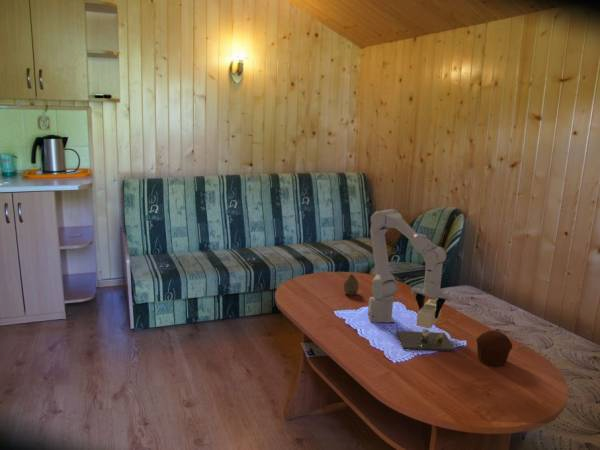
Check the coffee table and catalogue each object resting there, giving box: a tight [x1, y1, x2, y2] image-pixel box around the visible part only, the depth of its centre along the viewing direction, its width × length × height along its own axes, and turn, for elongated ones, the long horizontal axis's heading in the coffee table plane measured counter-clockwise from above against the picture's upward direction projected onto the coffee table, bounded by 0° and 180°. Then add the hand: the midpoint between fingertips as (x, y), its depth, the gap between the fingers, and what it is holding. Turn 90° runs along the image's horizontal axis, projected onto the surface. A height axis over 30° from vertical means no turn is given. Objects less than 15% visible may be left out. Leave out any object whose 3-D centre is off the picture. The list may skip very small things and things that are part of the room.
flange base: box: [396, 328, 456, 353], centre depth 180 cm, size 18×13×4 cm
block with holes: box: [416, 298, 442, 330], centre depth 183 cm, size 15×5×5 cm, turn 151°
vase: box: [343, 274, 360, 296], centre depth 225 cm, size 7×7×9 cm
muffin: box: [476, 330, 513, 368], centre depth 168 cm, size 12×11×10 cm
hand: (429, 315), depth 183 cm, fingers closed on block with holes, 5 cm apart
